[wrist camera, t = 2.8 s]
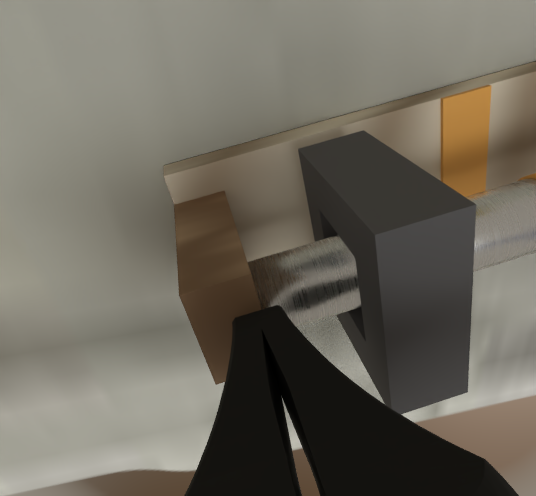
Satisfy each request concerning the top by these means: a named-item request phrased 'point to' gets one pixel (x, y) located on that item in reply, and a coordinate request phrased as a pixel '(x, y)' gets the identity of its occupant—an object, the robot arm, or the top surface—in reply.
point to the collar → (398, 265)
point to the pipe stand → (333, 248)
